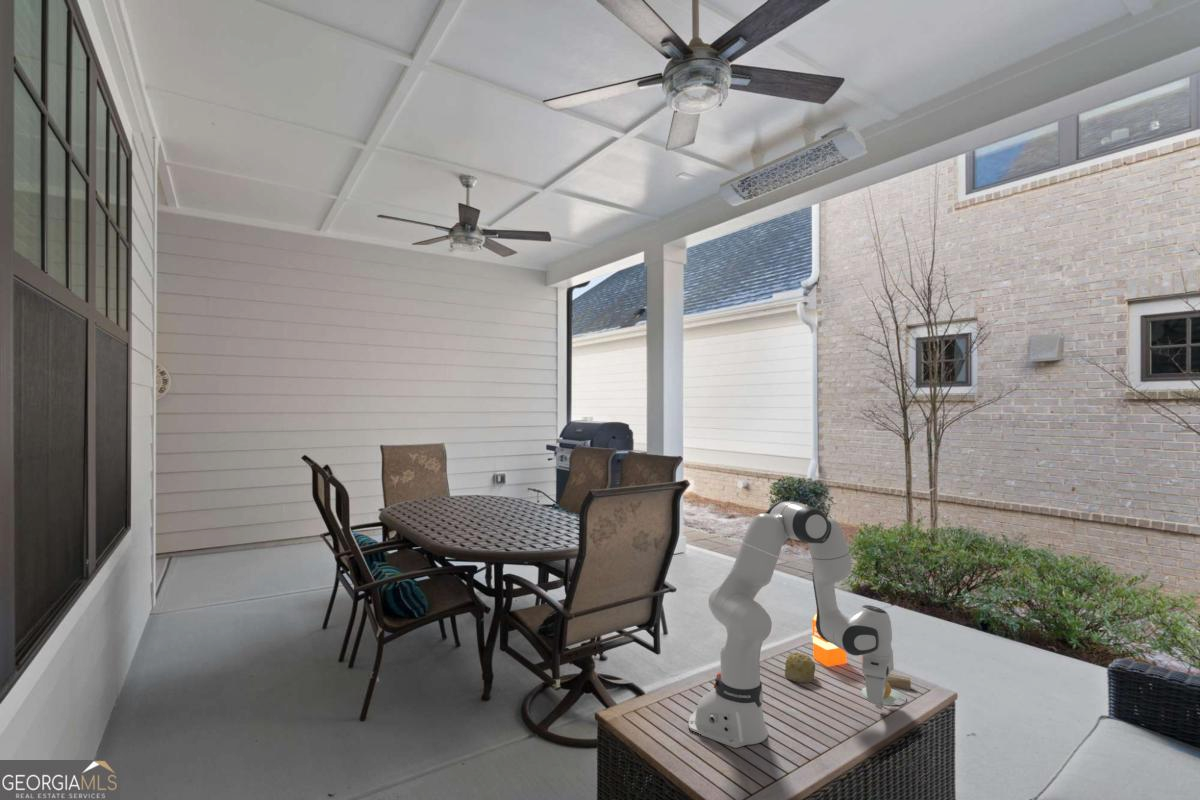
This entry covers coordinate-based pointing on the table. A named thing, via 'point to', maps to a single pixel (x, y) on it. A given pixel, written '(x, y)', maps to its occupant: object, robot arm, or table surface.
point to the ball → (887, 690)
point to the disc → (889, 699)
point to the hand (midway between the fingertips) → (879, 706)
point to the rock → (799, 668)
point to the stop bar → (898, 681)
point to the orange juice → (826, 649)
